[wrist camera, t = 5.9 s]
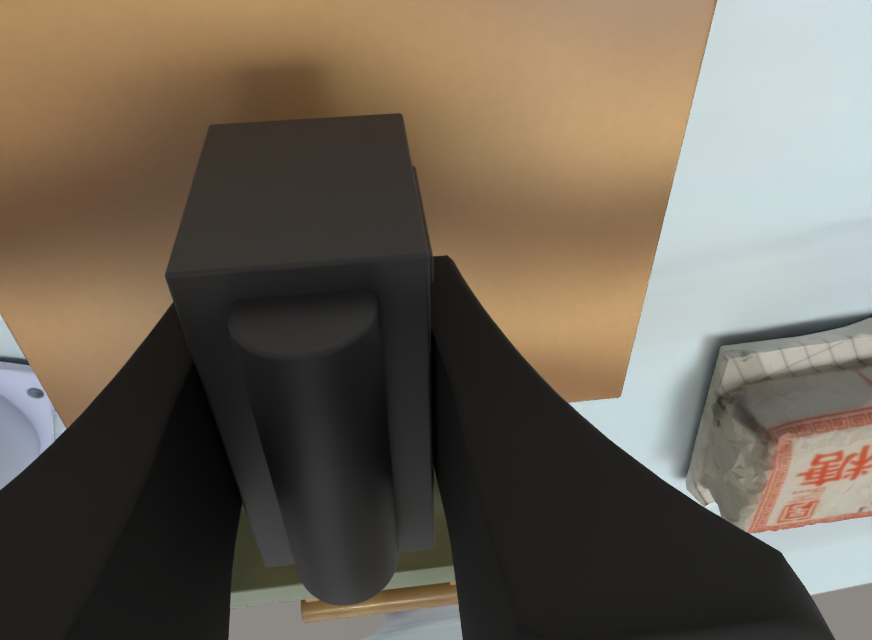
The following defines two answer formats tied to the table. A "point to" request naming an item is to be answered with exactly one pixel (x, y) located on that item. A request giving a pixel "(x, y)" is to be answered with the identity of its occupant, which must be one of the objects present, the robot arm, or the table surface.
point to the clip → (315, 340)
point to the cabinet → (337, 97)
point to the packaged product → (788, 431)
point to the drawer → (407, 590)
